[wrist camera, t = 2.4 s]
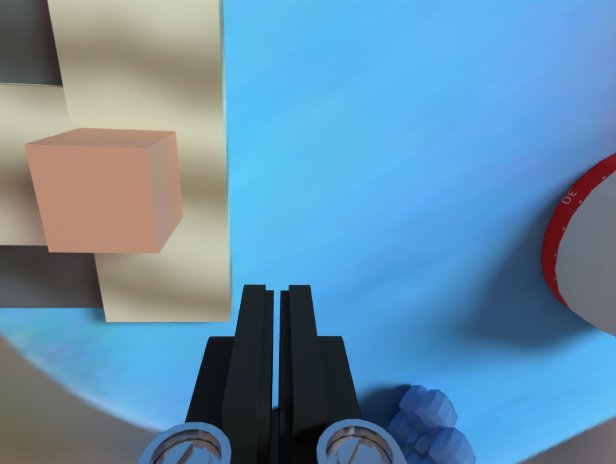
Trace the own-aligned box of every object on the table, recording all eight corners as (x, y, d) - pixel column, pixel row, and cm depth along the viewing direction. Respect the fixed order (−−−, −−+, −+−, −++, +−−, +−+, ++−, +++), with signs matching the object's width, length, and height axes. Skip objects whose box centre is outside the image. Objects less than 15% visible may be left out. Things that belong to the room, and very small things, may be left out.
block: (80, 127, 21) (24, 143, 16) (176, 131, 21) (147, 148, 17) (95, 215, 23) (49, 252, 18) (183, 216, 23) (158, 253, 19)
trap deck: (-291, -54, 18) (-353, -67, 17) (221, -19, 20) (216, -28, 19) (-129, 304, 26) (-160, 322, 24) (232, 305, 28) (229, 321, 26)
